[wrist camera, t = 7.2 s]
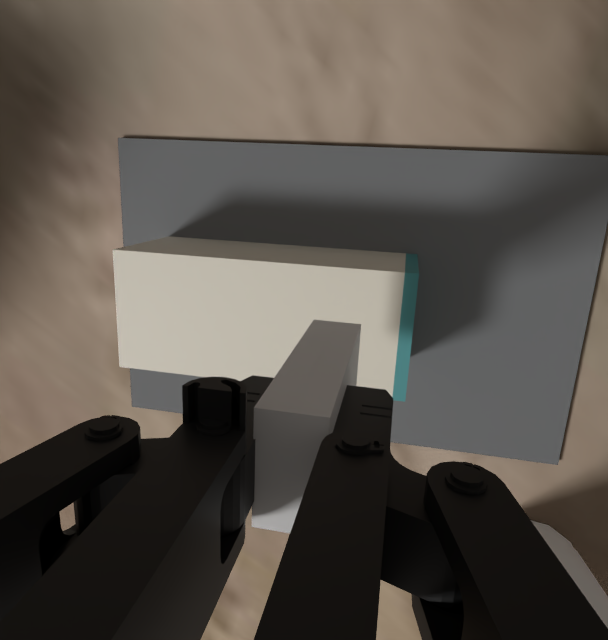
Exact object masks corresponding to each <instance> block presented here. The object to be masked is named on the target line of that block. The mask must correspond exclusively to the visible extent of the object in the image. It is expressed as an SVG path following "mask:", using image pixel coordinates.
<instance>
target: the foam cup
mask: <svg viewBox="0 0 608 640" xmlns="http://www.w3.org/2000/svg"><path fill="white" fill-rule="evenodd" d="M531 522H532V523H533V524H534V526H535V527H536V529H537V530H538V531H539V533H540V534H541V536H542V537H543V538H544V540H545V541H546V543H547V544H548V545H549V547H550V548H551V550H552V551H553V552H554V554H555V555H556V557H557V558H558V559H559V561H560V562H561V564H562V565H563V566H564V568H565V569H566V571H567V572H568V573H569V575H570V576H571V578H572V579H573V580H574V582H575V583H576V585H577V586H578V588H579V589H580V590H581V592H582V593H583V595H584V596H585V597H586V599H587V600H588V602H589V603H590V604H591V606H592V607H593V609H594V610H595V611H596V613H597V614H598V616H599V617H600V618H601V620H602V621H603V623H604V624H605V625H606V627H607V628H608V596H607V595H606V593H605V592H604V590H603V589H602V587H601V586H600V584H599V583H598V581H597V580H596V578H595V577H594V575H593V574H592V572H591V571H590V569H589V568H588V566H587V565H586V563H585V562H584V560H583V559H582V557H581V556H580V554H579V553H578V551H577V550H576V549H574V548H573V545H572V543H571V542H570V541H569V540H567V539H566V538H565V537H563V536H562V535H561V534H560V533H558V532H557V531H556V530H554V529H553V528H552V527H550V526H549V525H546V524H543V523H539V522H535V521H532V520H531Z"/></svg>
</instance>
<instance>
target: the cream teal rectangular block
mask: <svg viewBox="0 0 608 640" xmlns="http://www.w3.org/2000/svg"><path fill="white" fill-rule="evenodd" d="M113 262H114V280H115V297H116V314H117V331H118V348H119V365H120V367H126V368H134V369H142V370H150V371H158V372H166V373H175V374H183V375H191V376H199V377H227V378H232V379H236V380H238V381H242V380H244V379H246V378H248V377H250V376H252V375H254V376H263V377H271V378H274V377H275V376H276V374H277V373H278V371H279V370H280V369H281V367H282V366H283V364H284V363H285V361H286V360H287V358H288V357H289V355H290V354H291V352H292V351H293V349H294V348H295V347H296V345H297V344H298V342H299V341H300V339H301V338H302V336H303V335H304V333H305V332H306V330H307V329H308V327H309V326H310V324H311V323H312V322H313V320H323V321H334V322H344V323H354V324H361V333H360V346H359V359H358V372H357V384H356V386H360V387H368V388H377V389H385V390H387V392H388V393H389V394H390V395H391V396H392V398H393V400H395V401H403V402H405V399H406V390H407V381H408V372H409V362H410V353H411V344H412V335H413V325H414V316H415V307H416V298H417V288H418V279H419V268H418V257H417V254H407V253H393V252H379V251H366V250H352V249H338V248H324V247H310V246H296V245H282V244H268V243H254V242H240V241H227V240H213V239H199V238H185V237H171V236H168V237H164V238H160V239H155V240H151V241H147V242H143V243H139V244H134V245H130V246H126V247H122V248H118V249H113Z"/></svg>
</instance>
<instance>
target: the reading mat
mask: <svg viewBox="0 0 608 640" xmlns="http://www.w3.org/2000/svg"><path fill="white" fill-rule="evenodd" d="M118 149H119V168H120V187H121V206H122V225H123V244H124V247H126V246H130V245H134V244H139V243H143V242H147V241H151V240H155V239H160V238H164V237H168V236H171V237H185V238H199V239H213V240H227V241H240V242H254V243H268V244H282V245H296V246H310V247H324V248H338V249H352V250H366V251H379V252H393V253H407V254H417V257H418V268H419V279H418V288H417V298H416V307H415V316H414V325H413V335H412V344H411V353H410V362H409V372H408V381H407V390H406V399H405V402H403V401H395V400H393V413H392V426H391V440H390V442H394V443H402V444H409V445H416V446H423V447H431V448H438V449H445V450H453V451H460V452H467V453H474V454H482V455H489V456H496V457H504V458H511V459H518V460H526V461H533V462H540V463H547V464H555V465H558V462H559V457H560V452H561V447H562V442H563V437H564V433H565V428H566V423H567V418H568V413H569V408H570V403H571V398H572V394H573V389H574V384H575V379H576V374H577V369H578V364H579V360H580V355H581V350H582V345H583V340H584V335H585V330H586V325H587V321H588V316H589V311H590V306H591V301H592V296H593V291H594V286H595V282H596V277H597V272H598V267H599V262H600V257H601V252H602V247H603V243H604V238H605V233H606V228H607V223H608V156H607V155H579V154H552V153H524V152H496V151H469V150H441V149H413V148H386V147H358V146H330V145H303V144H275V143H247V142H220V141H192V140H164V139H136V138H118ZM130 378H131V397H132V407H139V408H146V409H153V410H161V411H168V412H175V413H183V402H182V385H184V384H185V383H187V382H189V381H191V380H195V379H198V378H204V377H199V376H191V375H183V374H175V373H166V372H158V371H150V370H142V369H134V368H130Z"/></svg>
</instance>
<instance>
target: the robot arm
mask: <svg viewBox="0 0 608 640" xmlns="http://www.w3.org/2000/svg"><path fill="white" fill-rule="evenodd" d="M360 333H361V324H354V323H344V322H334V321H323V320H313V322H312V323H311V324H310V326H309V327H308V329H307V330H306V332H305V333H304V335H303V336H302V338H301V339H300V341H299V342H298V344H297V345H296V347H295V348H294V349H293V351H292V352H291V354H290V355H289V357H288V358H287V360H286V361H285V363H284V364H283V366H282V367H281V369H280V370H279V371H278V373H277V374H276V376H275V377H274V378H271V377H263V376H254V375H252V376H250V377H248V378H246V379H244V380H242V381H238V380H236V379H232V378H227V377H204V378H198V379H195V380H191V381H189V382H187V383H185V384H184V385H182V402H183V424H182V425H181V426H180V427H179V428H178V429H177V430H176V431H175V432H174V433H173V434H172V435H171V437H170V438H153V439H141V436H140V426H139V425H138V423H137V422H136V421H134V420H132V419H130V418H126V417H120V416H115V415H112V416H110V415H109V416H102V417H100V418H95V419H91V420H88V421H85V422H83V423H80V424H78V425H76V426H74V427H72V428H70V429H68V430H66V431H64V432H62V433H60V434H58V435H56V436H55V437H53V438H51V439H49V440H47V441H45V442H43V443H41V444H39V445H37V446H35V447H33V448H31V449H29V450H27V451H25V452H23V453H21V454H19V455H17V456H15V457H13V458H11V459H9V460H7V461H5V462H3V463H1V464H0V640H200V639H201V637H202V635H203V633H204V630H205V628H206V626H207V624H208V621H209V619H210V617H211V615H212V613H213V610H214V608H215V606H216V604H217V602H218V599H219V597H220V595H221V593H222V590H223V588H224V586H225V584H226V582H227V579H228V577H229V575H230V573H231V570H232V568H233V566H234V564H235V562H236V559H237V557H238V555H239V553H240V551H241V548H242V546H243V544H244V539H245V519H246V517H247V515H248V513H249V511H250V509H251V506H252V527H256V528H262V529H268V530H273V531H279V532H285V533H290V535H289V538H288V541H287V544H286V547H285V550H284V553H283V556H282V559H281V562H280V565H279V568H278V570H277V573H276V576H275V579H274V582H273V585H272V588H271V591H270V594H269V597H268V600H267V603H266V606H265V609H264V611H263V614H262V617H261V620H260V623H259V626H258V629H257V632H256V635H255V638H254V640H376V631H377V618H378V605H379V592H380V579H381V580H383V581H385V582H387V583H389V584H392V585H394V586H396V587H398V588H400V589H402V590H405V591H407V592H409V593H411V594H412V607H413V611H414V614H415V617H416V621H417V624H418V627H419V631H420V634H421V637H422V640H608V628H607V627H606V625H605V624H604V623H603V621H602V620H601V618H600V617H599V616H598V614H597V613H596V611H595V610H594V609H593V607H592V606H591V604H590V603H589V602H588V600H587V599H586V597H585V596H584V595H583V593H582V592H581V590H580V589H579V588H578V586H577V585H576V583H575V582H574V580H573V579H572V578H571V576H570V575H569V573H568V572H567V571H566V569H565V568H564V566H563V565H562V564H561V562H560V561H559V559H558V558H557V557H556V555H555V554H554V552H553V551H552V550H551V548H550V547H549V545H548V544H547V543H546V541H545V540H544V538H543V537H542V536H541V534H540V533H539V531H538V530H537V529H536V527H535V526H534V524H533V523H532V522H531V520H530V519H529V517H528V516H527V515H526V513H525V512H524V510H523V509H522V508H521V506H520V505H519V503H518V502H517V501H516V499H515V498H514V496H513V495H512V494H511V492H510V491H509V489H508V488H507V487H506V485H505V484H504V483H503V482H502V481H501V480H500V479H499V478H498V477H497V476H496V475H495V474H493V473H492V472H490V471H488V470H486V469H484V468H482V467H480V466H478V465H475V464H474V465H473V464H472V463H467V462H455V461H453V462H443V463H439V464H437V465H435V466H432V467H431V468H430V470H429V471H428V473H427V476H425V475H422V474H419V473H416V472H414V471H411V470H409V469H407V468H406V467H404V466H402V465H401V464H399V463H398V462H397V461H396V460H395V459H394V458H393V456H392V454H391V452H390V440H391V426H392V413H393V398H392V396H391V395H390V394H389V393H388V392H387V390H385V389H377V388H368V387H360V386H356V384H357V372H358V359H359V346H360ZM73 502H74V511H75V522H76V524H75V525H74V526H72V527H71V528H69V529H67V530H65V531H62V529H61V524H60V514H59V511H61V510H62V509H64V508H65V507H67V506H68V505H70V504H71V503H73Z"/></svg>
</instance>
